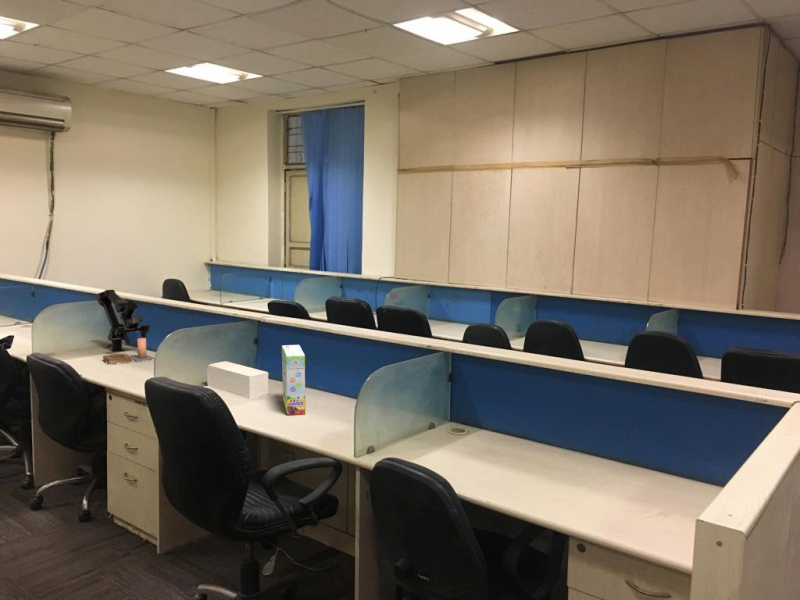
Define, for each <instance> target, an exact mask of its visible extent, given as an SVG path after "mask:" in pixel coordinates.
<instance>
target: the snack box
mask: <svg viewBox="0 0 800 600" xmlns="http://www.w3.org/2000/svg"><path fill="white" fill-rule="evenodd" d="M281 359H282V360H281V362H282V364H281V365H282V369H281V371H282V372H281V373H282V401H283V405H284V409H285V412H286V413H285V414H286V416H303V415H304V416H305V415H306V355H305V353H304V351H303V349H302V347H301V345H300V344H287V345H286V344H285V345H281Z"/></svg>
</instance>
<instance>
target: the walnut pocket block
mask: <svg viewBox="0 0 800 600" xmlns="http://www.w3.org/2000/svg"><path fill="white" fill-rule="evenodd" d="M102 356H103V357H102V359H103V362H104V361H105V362H104V363H106V362H107V363H108V365H109V364H114V365H118V364H117V363H123V364H127V363H126V362H131V363H132V362H133V360H132V357H133V356H130V355H128V353H126V352H125V353H116V354H108V355H102ZM107 363H106V364H107Z"/></svg>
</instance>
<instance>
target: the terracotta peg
mask: <svg viewBox="0 0 800 600" xmlns="http://www.w3.org/2000/svg"><path fill="white" fill-rule="evenodd" d="M136 343H137V356H138V358H139V359H144V358H147V356H146V355H147V337H146V338H142V337H137V342H136Z"/></svg>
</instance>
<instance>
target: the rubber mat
mask: <svg viewBox="0 0 800 600" xmlns="http://www.w3.org/2000/svg"><path fill="white" fill-rule="evenodd" d="M146 356H147V358H144V359H139V358H138V355H137V356H131V357H132V359H133V360H135V361H140V362H144V361H143V360H149V361H153V360H152V359H154V360H155V358H154V357H153V356H150V355H148V354H146ZM133 360H132V361H133ZM135 361H134V362H135Z"/></svg>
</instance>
